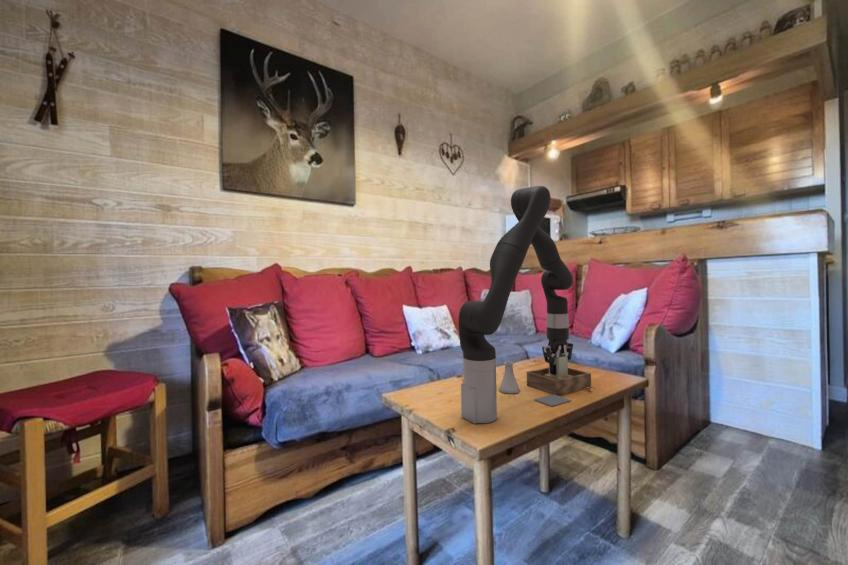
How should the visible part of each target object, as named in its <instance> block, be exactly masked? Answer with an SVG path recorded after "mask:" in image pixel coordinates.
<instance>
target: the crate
mask: <svg viewBox="0 0 848 565" xmlns="http://www.w3.org/2000/svg"><path fill="white" fill-rule="evenodd" d="M526 386H528V387H530V388H533V389H536V390H539V391H541V392H545V393H548V394H550V395H552V394H555V395H558V396H561V397H562V396H564V395H567V394H572V393H575V392H574V391H576V392H578V391H577V390H579V391H582V390H581V389H583V390H585V389H584V388H587V387H590V386H591V387H592V373H591V372H587V371H583V370H579V369H574V368H571V367H568V376H565V377H561V378H558V377H555V376H551V375H549V366H547V367H543V368H539V369H534V370H530V371H529V370H528V371H526ZM587 389H588V388H587ZM571 392H572V393H571Z"/></svg>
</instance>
